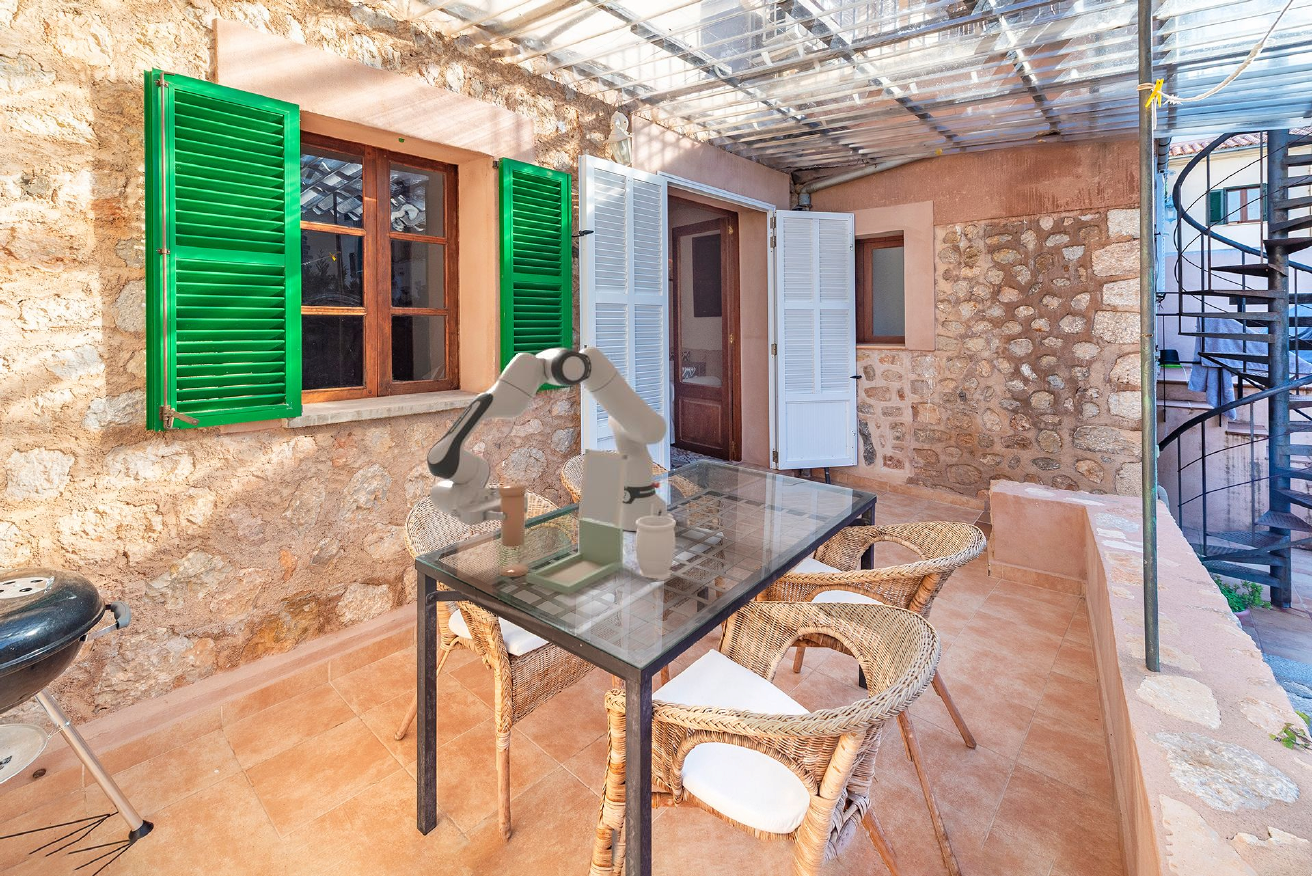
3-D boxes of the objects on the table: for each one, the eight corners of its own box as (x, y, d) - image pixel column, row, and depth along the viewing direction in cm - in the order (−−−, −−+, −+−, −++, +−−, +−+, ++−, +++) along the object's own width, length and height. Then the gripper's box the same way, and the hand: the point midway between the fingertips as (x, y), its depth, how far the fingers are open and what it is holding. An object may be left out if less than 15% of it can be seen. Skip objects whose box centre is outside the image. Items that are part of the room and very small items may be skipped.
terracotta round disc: (514, 567, 172) (514, 562, 172) (535, 573, 168) (535, 568, 168) (493, 575, 166) (493, 571, 166) (514, 582, 162) (514, 577, 162)
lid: (577, 517, 175) (579, 517, 175) (618, 526, 168) (619, 526, 168) (585, 448, 174) (587, 449, 175) (626, 455, 167) (627, 455, 168)
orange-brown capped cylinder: (512, 536, 170) (512, 482, 168) (531, 541, 167) (531, 485, 164) (494, 543, 164) (493, 487, 162) (513, 548, 161) (513, 491, 159)
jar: (648, 565, 175) (649, 512, 173) (681, 573, 170) (683, 519, 167) (627, 578, 166) (627, 522, 164) (661, 586, 161) (662, 529, 158)
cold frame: (581, 559, 179) (581, 518, 177) (622, 570, 171) (622, 527, 169) (526, 585, 160) (525, 539, 158) (568, 598, 153) (568, 550, 151)
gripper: (445, 501, 162) (483, 510, 155) (505, 486, 179) (542, 493, 172) (446, 525, 163) (484, 535, 156) (505, 507, 180) (542, 516, 173)
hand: (515, 513), depth 164 cm, fingers closed on orange-brown capped cylinder, 6 cm apart
